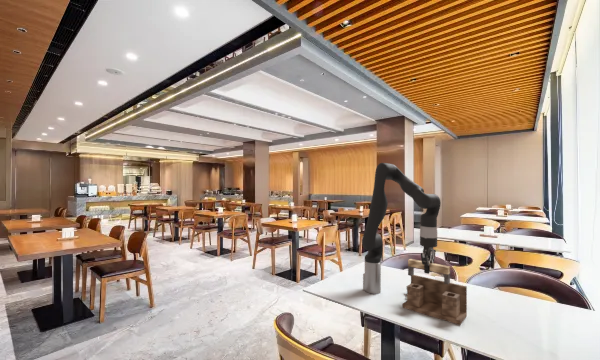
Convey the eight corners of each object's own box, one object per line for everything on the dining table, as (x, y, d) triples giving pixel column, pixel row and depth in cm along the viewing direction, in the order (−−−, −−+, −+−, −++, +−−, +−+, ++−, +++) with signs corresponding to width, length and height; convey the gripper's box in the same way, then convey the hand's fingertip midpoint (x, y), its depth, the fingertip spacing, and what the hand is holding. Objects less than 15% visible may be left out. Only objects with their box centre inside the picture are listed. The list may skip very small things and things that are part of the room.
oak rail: (408, 275, 138) (408, 259, 138) (410, 273, 141) (410, 258, 141) (447, 284, 126) (448, 267, 126) (449, 282, 128) (450, 266, 128)
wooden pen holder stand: (402, 307, 143) (402, 279, 143) (411, 300, 152) (411, 274, 152) (460, 325, 125) (460, 293, 125) (466, 315, 134) (466, 286, 134)
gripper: (425, 233, 141) (425, 267, 141) (414, 236, 131) (414, 273, 131) (441, 235, 136) (441, 271, 136) (431, 239, 126) (431, 277, 126)
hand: (428, 272), depth 133 cm, fingers closed on oak rail, 3 cm apart
